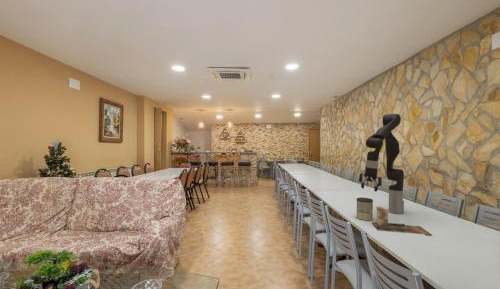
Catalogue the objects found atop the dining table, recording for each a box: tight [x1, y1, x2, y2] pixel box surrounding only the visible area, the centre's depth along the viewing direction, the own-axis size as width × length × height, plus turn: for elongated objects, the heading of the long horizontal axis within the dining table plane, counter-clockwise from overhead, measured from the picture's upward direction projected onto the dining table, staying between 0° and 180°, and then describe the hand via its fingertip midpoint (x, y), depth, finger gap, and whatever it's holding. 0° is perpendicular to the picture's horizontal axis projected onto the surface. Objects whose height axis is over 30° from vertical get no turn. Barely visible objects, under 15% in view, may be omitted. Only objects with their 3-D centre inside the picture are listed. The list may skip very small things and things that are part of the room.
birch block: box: [375, 206, 389, 227], centre depth 152 cm, size 5×5×12 cm
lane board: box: [371, 221, 433, 237], centre depth 150 cm, size 28×15×2 cm, turn 78°
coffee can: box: [356, 197, 374, 222], centre depth 169 cm, size 10×10×14 cm
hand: (368, 189), depth 170 cm, fingers open, 8 cm apart
